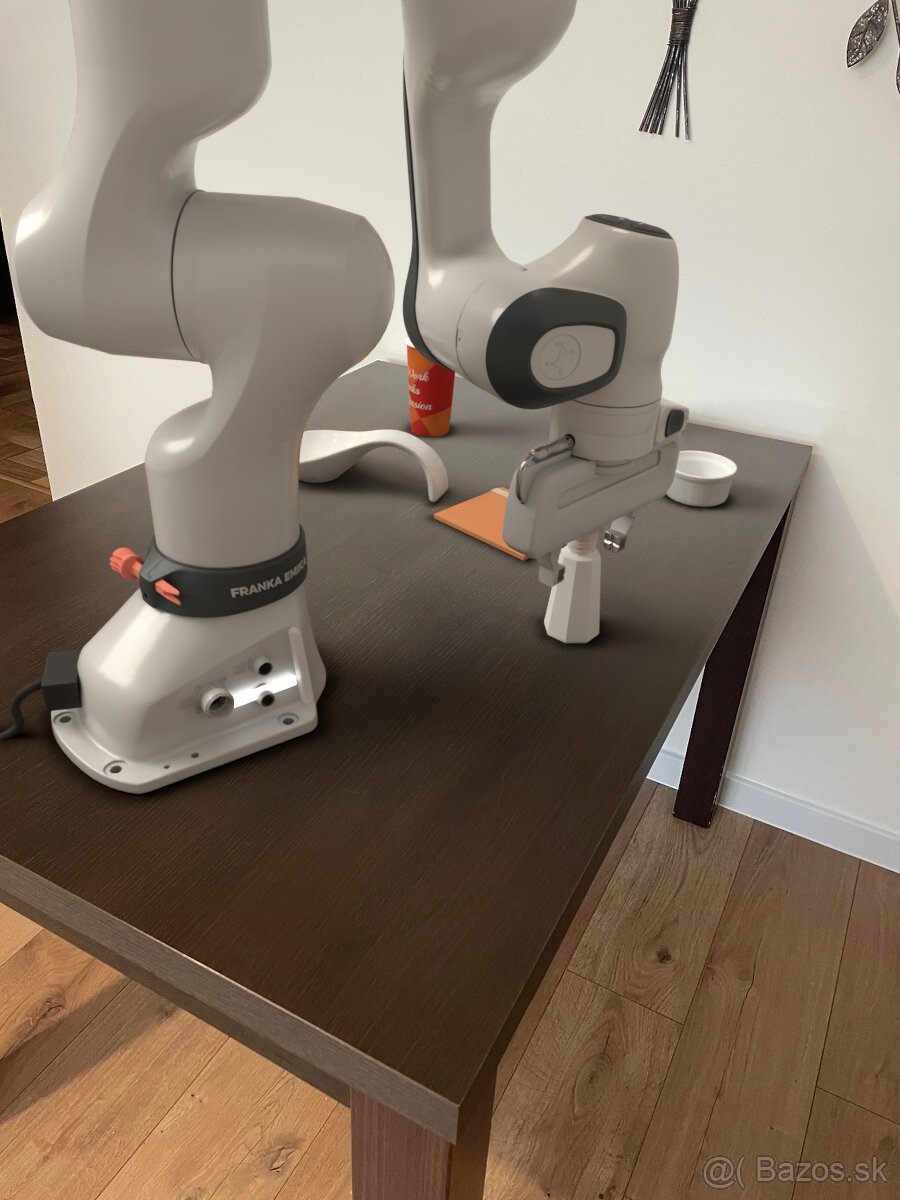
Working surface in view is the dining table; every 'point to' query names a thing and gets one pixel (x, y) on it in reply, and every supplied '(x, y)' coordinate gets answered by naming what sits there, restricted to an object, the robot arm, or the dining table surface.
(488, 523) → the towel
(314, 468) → the spoon rest
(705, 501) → the ramekin
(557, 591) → the pepper shaker
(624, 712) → the dining table surface
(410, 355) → the paper cup
